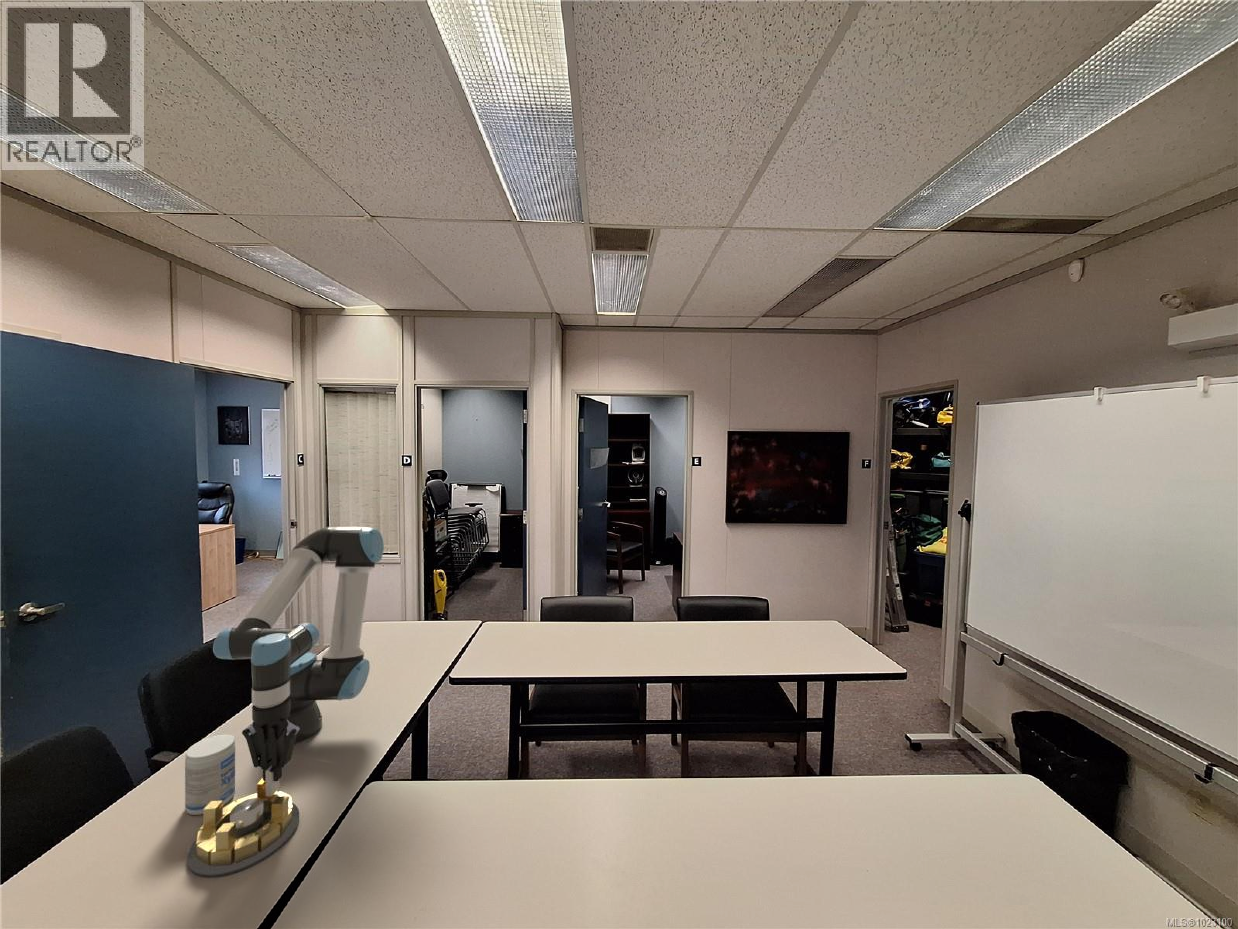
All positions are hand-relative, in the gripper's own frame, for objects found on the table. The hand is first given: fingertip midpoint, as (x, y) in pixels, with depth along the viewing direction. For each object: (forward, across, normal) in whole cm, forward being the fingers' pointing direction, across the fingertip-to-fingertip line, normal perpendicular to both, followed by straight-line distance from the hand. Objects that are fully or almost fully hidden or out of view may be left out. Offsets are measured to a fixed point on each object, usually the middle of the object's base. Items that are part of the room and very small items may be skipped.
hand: (272, 792), depth 113 cm
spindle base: (+5, +1, +7) cm, 9 cm away
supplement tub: (+5, +18, -3) cm, 19 cm away
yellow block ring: (+4, +1, +7) cm, 8 cm away
